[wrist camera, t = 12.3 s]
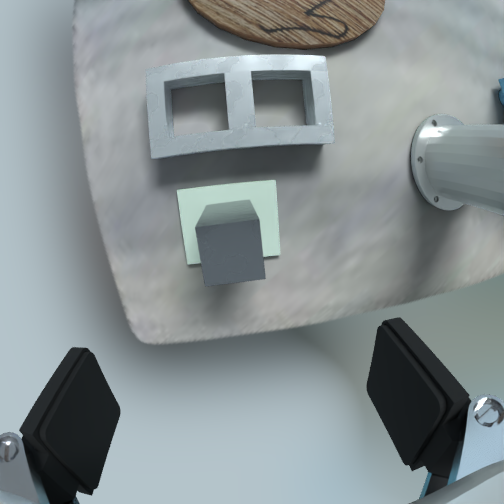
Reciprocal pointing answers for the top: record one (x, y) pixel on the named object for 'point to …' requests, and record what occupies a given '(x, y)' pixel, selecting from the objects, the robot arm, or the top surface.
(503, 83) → the teakettle
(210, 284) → the zinc peg
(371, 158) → the top surface
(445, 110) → the top surface
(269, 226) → the sage pad
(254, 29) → the trivet
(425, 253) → the top surface
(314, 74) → the grey cinder block
